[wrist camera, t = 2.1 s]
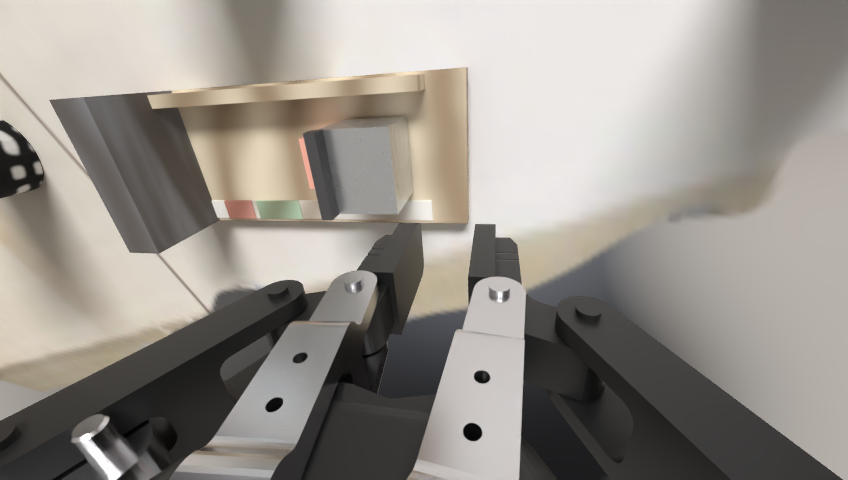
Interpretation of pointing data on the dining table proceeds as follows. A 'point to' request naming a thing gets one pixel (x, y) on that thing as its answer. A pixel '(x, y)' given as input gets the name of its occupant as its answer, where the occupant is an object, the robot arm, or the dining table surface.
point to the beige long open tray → (260, 150)
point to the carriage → (360, 166)
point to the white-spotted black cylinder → (17, 163)
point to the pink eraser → (306, 163)
